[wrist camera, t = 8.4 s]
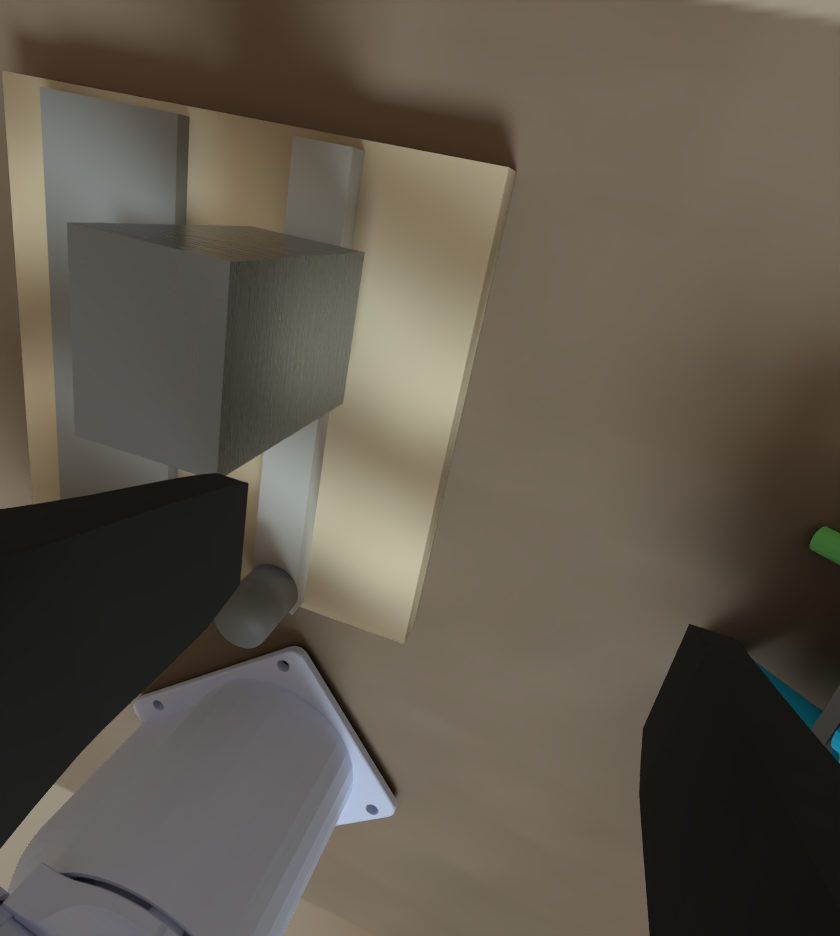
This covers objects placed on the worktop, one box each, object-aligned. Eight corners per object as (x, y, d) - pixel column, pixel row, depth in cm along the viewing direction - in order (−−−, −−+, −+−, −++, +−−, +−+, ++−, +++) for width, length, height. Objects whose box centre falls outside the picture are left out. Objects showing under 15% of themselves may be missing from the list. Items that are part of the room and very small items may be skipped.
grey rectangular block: (343, 403, 17) (216, 481, 12) (123, 341, 18) (-81, 385, 13) (364, 252, 16) (230, 262, 10) (122, 196, 17) (-109, 179, 12)
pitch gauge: (414, 623, 22) (374, 701, 18) (58, 499, 25) (-37, 544, 21) (516, 171, 16) (486, 153, 12) (37, 79, 19) (-99, 43, 15)
